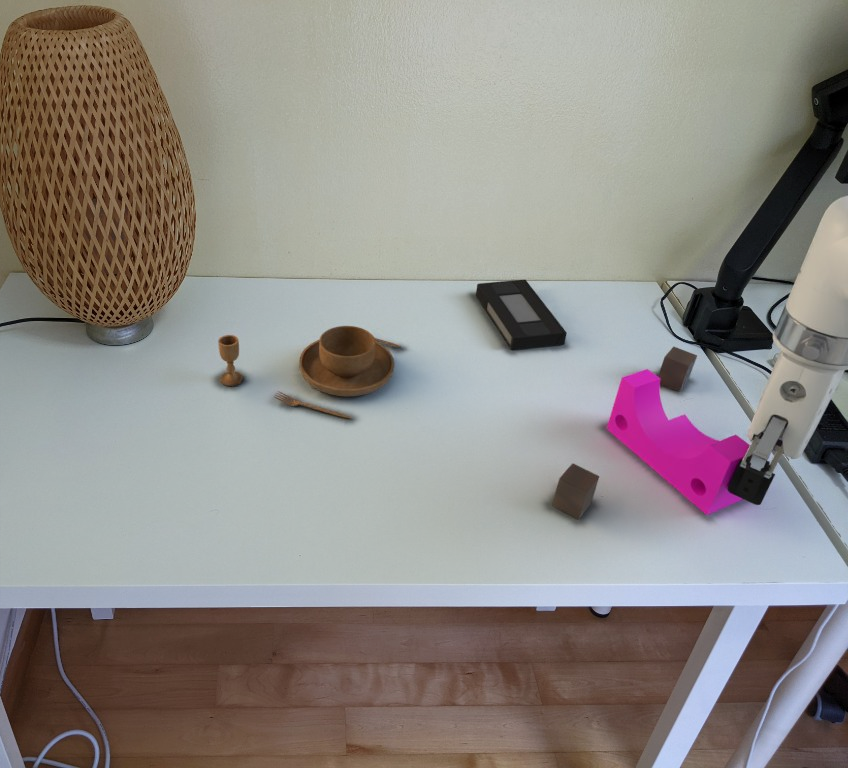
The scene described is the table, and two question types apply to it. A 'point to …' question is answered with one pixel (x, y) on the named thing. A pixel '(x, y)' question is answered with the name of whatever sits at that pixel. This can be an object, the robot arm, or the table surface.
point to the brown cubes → (582, 483)
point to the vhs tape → (520, 315)
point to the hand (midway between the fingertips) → (758, 471)
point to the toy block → (675, 444)
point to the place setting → (330, 364)
